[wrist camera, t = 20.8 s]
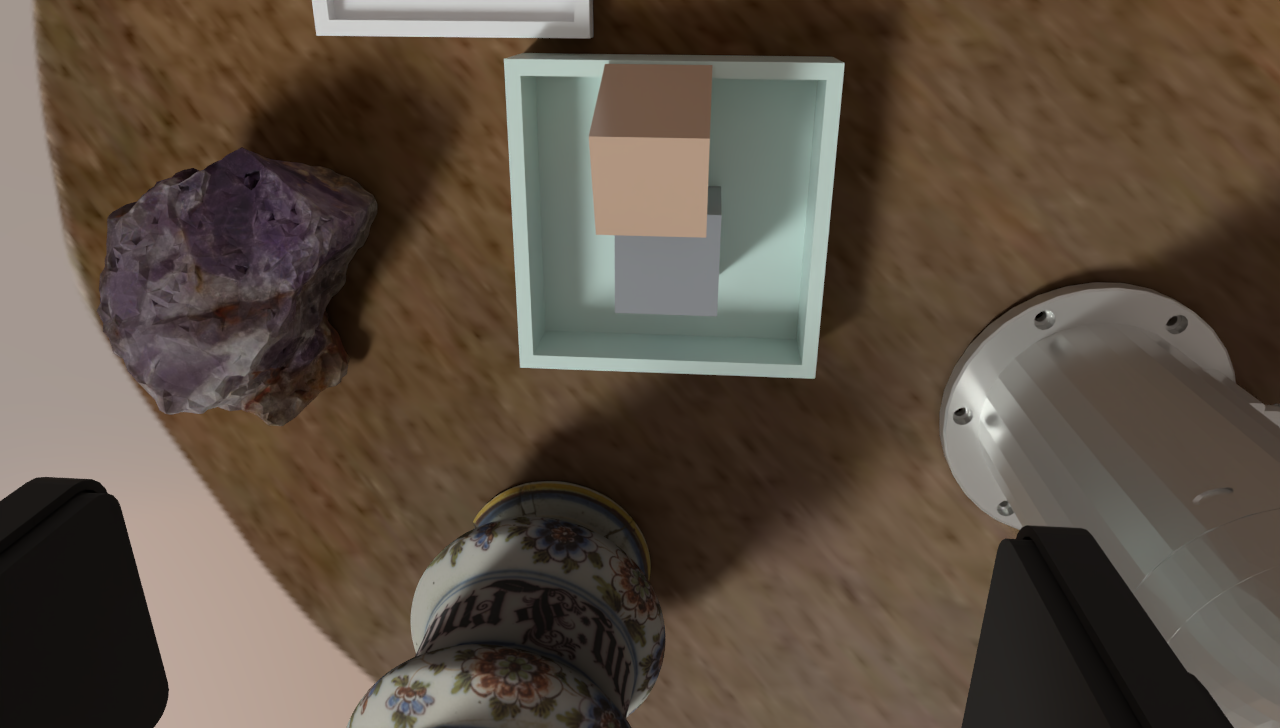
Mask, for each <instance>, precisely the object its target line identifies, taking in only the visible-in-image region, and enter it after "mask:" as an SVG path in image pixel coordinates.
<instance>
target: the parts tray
mask: <svg viewBox="0 0 1280 728" xmlns="http://www.w3.org/2000/svg"><path fill="white" fill-rule="evenodd" d="M312 5H313V12H314V20H315V27H316V35H317V36H405V37H500V38H592V37H594V32H593V0H312Z"/></svg>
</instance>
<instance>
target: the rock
mask: <svg viewBox="0 0 1280 728" xmlns="http://www.w3.org/2000/svg"><path fill="white" fill-rule="evenodd" d="M376 214H377V202H376V200H375V198H374V196H373V195H372V194H371V193H369V192H367V191H366V190H364V189H363V188H362V186H361V185H360V184H359V183H358V182H356V181H355V180H353V179H351V178H350V177H347V176H344V175H341V174H338V173H335V172H334V171H333V170H332V169H328V168H325V167H321V166H309V165H306V164H304V163H296V162H287V161H280V160H272V159H268V158H266V157H263V156H261V155H259V154H257V153H254V152H251V151H248V150H246V149H244V148H240V149H238V150H236V151H234V152H232V153H230V154H228V155H227V156H225V157H224V158H223V159H222V160H219V161H217V162H215V163H213V164H211V165H209V166H208V167H207V168H205V169H204V170H202V171H199V170H197V169H194V168H191V169H187V170H182V171H180V172H178V173H176V174H175V175H174V176H173V177H172V178H168V179H165V180H162V181H159V182H157V183H156V185H155V186H154V187H153V188H151V189H149V190H148V191H147V193H145V194H144V195H143V196H142V197H141V198H140V199H139V200H138V201H137V202H134V203H130V204H127V205H125V206H123V207H121V208H119V209H117V210H116V211H114V212H112V213H111V214H110V215H109V217H108V219H107V222H108V232H107V243H106V245H107V255H106V258H105V268H104V270H103V271H102V273H101V274H100V285H99V291H100V296H101V298H100V302H101V304H100V305H99V307H98V309H97V313H98V314H99V316H100V318H101V320H102V321H103V332H104V333H105V334H106V335H107V337H108V338H109V340H110V343H111V346H112V350H113V353H114V354H116V355H117V356H119V357H121V358H123V360H124V362H125V365H126V368H127V370H128V372H129V373H130V374H131V375H132V376H133V377H134V378H135V380H136V381H137V382H138V383H139V384H140V385H141V386H142V387H143V388H144V389H145V390H146V391H147V392H148V393H149V394H150V395H151V396H152V397H153V398H154V399H155V401H156V403H157V405H158V407H159V410H160V411H162V412H164V413H166V414H176V413H179V412H192V413H198V414H201V413H204V412H205V411H207V410H208V409H212V408H214V407H220V408H222V409H225V410H229V411H234V410H243V411H246V412H250V413H253V414H255V415H257V416H258V417H260V418H261V419H262V420H263V421H264V422H265V423H266V424H267V425H272V426H283V425H285V424H286V423H288V422H289V421H291V420H292V419H294V418H295V417H296V416H297V415H298V414H299V413H300V412H301V411H302V410H303V409H304V408H305V407H306V406H307V405H308V404H309V403H310V402H311V401H312V400H313V399H315V398H316V397H317V395H318V394H319V393H320V392H322V391H323V390H324V389H326V388H328V387H332V386H336V385H337V384H339V383H340V382H341V379H342V377H344V376H345V375H346V374H347V368H348V362H349V356H348V355H347V353H346V351H345V350H344V348H343V345H342V342H341V339H340V336H339V334H338V332H337V331H336V330H335V329H334V328H333V327H332V326H331V325H330V323H329V322H328V320H327V319H328V314H327V312H326V311H325V309H326V306H327V305H328V303H329V301H330V300H331V298H332V296H334V295H336V294H337V293H338V292H339V291H340V289H341V288H342V287H343V286H344V284H345V281H346V272H347V268H348V263H349V262H350V261H351V260H352V258H353V256H354V255H355V253H356V251H357V250H358V249H359V248H361V247H362V246H363V245H364V243H365V241H366V239H367V237H368V235H369V231H370V226H371V224H372V223H373V221H374V219H375V217H376Z"/></svg>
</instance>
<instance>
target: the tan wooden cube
mask: <svg viewBox="0 0 1280 728" xmlns="http://www.w3.org/2000/svg"><path fill="white" fill-rule="evenodd" d="M711 93H712V65H660V64H605V66H604V70H603V75H602V79H601V84H600V88H599V93H598V97H597V101H596V106H595V110H594V115H593V119H592V124H591V128H590V133H589V148H590V162H591V175H592V189H593V203H594V216H595V230H596V235H624V236H662V237H700V238H706V229H707V203H708V176H709V149H710V121H711Z"/></svg>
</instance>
